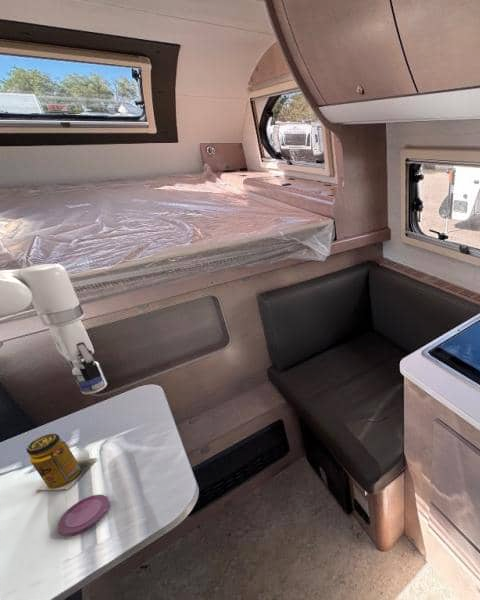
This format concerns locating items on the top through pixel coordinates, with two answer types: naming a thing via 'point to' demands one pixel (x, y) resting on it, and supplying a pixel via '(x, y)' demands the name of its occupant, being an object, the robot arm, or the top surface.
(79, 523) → the saucer
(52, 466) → the condiment
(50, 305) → the robot arm
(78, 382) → the pill bottle
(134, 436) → the top surface
